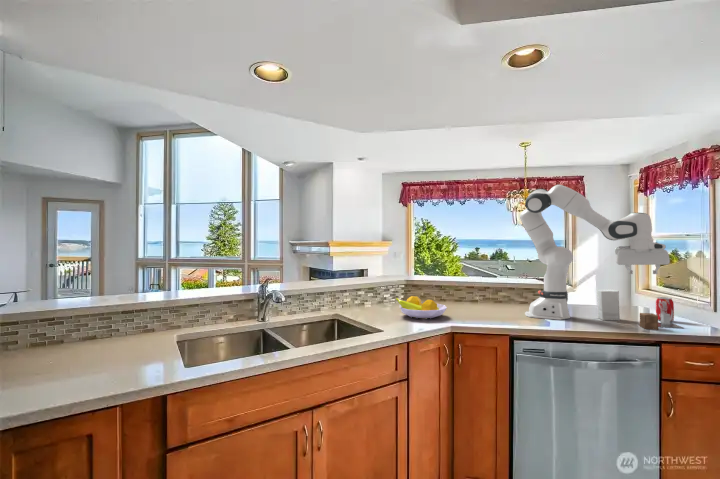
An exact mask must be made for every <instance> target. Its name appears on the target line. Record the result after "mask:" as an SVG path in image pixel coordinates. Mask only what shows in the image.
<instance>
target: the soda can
mask: <svg viewBox="0 0 720 479" xmlns="http://www.w3.org/2000/svg"><path fill="white" fill-rule="evenodd" d="M674 304H675V303H674V300H673V298H672V297H665V296H657V297H656V300H655V315H658V322H661V313H668V314H670V323H672V322H673V321H674V319H675V309H674V308H675V305H674Z"/></svg>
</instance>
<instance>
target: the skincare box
mask: <svg viewBox="0 0 720 479" xmlns="http://www.w3.org/2000/svg"><path fill="white" fill-rule="evenodd" d="M596 291H597V292H596V293H597V295H596V296H597V297H596V298H597V318H598V319H600V320H601V321H617V322H618V321H619V322H620V320H621V319H620V314H621V313H620V292H619V290H616V289H596Z"/></svg>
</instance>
